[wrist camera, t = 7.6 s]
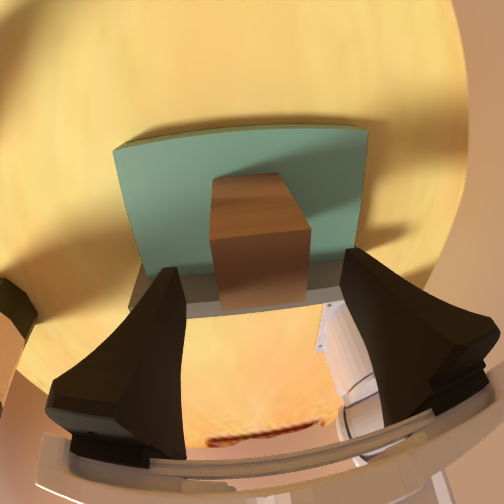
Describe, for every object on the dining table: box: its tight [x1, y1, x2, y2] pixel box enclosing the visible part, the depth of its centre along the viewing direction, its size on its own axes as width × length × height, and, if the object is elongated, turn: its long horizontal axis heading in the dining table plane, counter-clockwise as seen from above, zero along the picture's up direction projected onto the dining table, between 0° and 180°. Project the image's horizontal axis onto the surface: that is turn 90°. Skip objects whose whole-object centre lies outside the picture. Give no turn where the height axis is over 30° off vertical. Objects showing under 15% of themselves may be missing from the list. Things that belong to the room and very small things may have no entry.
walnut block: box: [209, 173, 312, 311], centre depth 14 cm, size 4×4×7 cm
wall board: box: [113, 124, 368, 319], centre depth 17 cm, size 12×18×5 cm, turn 93°
